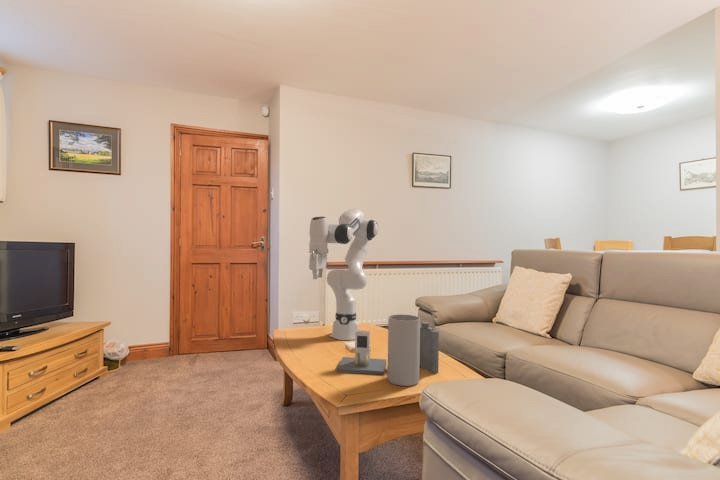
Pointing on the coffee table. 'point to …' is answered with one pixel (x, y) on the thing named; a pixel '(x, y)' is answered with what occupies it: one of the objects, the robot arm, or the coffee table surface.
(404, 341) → the cylinder vase
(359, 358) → the drive
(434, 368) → the hip flask
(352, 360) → the pin tray
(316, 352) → the coffee table surface
